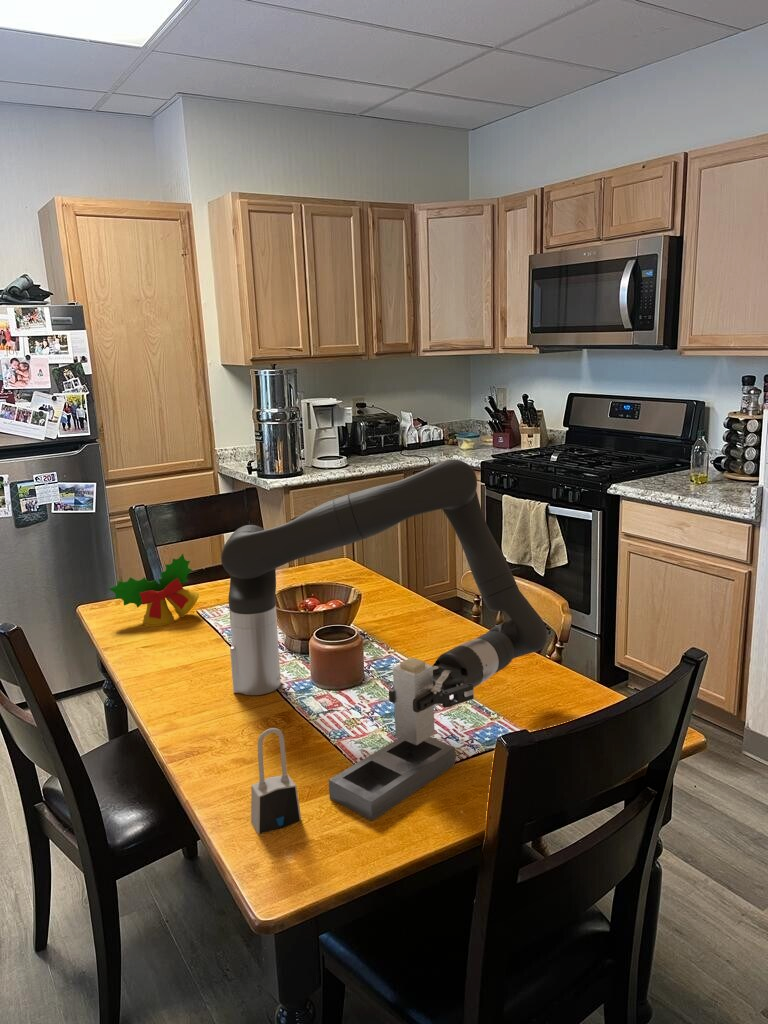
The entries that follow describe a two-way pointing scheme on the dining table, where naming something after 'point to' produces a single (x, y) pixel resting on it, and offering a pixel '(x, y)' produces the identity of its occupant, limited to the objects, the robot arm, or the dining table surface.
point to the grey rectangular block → (408, 685)
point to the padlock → (273, 794)
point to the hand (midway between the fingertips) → (402, 701)
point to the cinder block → (390, 775)
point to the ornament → (160, 594)
